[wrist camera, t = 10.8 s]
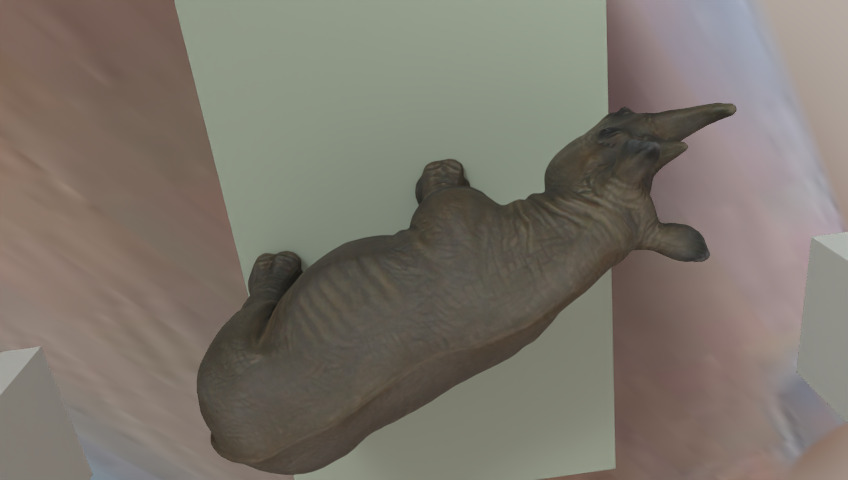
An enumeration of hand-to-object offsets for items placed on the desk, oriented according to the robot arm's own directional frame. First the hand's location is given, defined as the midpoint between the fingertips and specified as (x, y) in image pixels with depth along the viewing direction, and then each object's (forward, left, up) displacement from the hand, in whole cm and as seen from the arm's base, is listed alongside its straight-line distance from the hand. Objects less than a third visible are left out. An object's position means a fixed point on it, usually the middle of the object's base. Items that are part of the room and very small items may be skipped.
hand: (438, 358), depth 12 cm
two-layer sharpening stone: (0, 0, -14) cm, 14 cm away
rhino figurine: (0, +1, -7) cm, 7 cm away
